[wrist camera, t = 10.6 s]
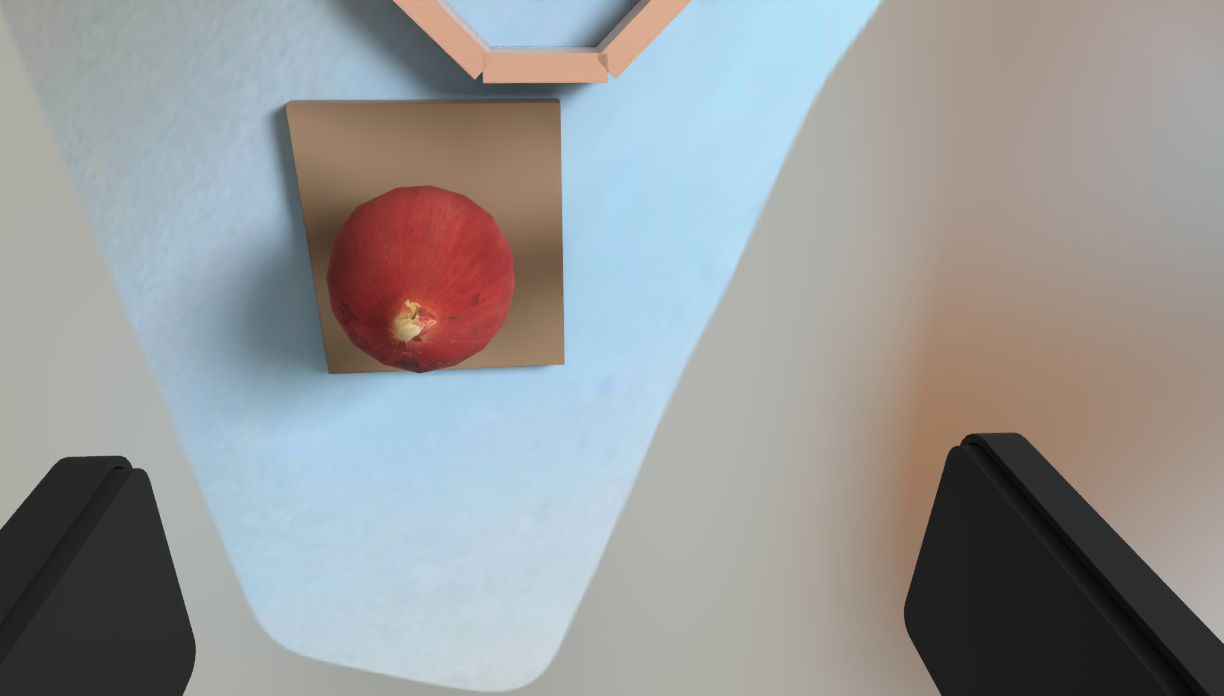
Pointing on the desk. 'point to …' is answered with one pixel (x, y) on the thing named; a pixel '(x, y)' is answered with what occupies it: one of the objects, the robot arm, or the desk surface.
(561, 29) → the desk surface
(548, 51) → the ring holder
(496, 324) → the onion
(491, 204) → the board
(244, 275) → the desk surface
